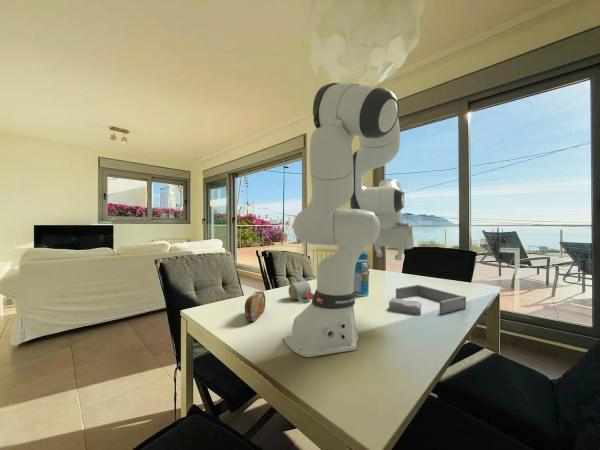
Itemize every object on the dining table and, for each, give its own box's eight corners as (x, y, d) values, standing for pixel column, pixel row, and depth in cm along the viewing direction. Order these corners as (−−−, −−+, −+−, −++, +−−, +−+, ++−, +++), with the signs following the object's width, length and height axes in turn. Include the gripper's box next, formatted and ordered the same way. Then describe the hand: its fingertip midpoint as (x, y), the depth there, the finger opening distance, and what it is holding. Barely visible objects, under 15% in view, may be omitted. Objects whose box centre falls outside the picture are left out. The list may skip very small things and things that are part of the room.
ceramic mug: (287, 297, 120) (287, 281, 120) (302, 295, 124) (302, 279, 124) (299, 304, 111) (300, 286, 111) (315, 301, 115) (315, 284, 115)
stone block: (391, 308, 113) (387, 310, 104) (392, 296, 114) (388, 298, 105) (421, 313, 107) (420, 316, 99) (422, 301, 108) (421, 303, 99)
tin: (251, 325, 89) (251, 300, 89) (242, 324, 90) (242, 299, 89) (266, 310, 104) (266, 288, 104) (258, 309, 104) (258, 288, 104)
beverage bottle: (349, 295, 124) (350, 253, 124) (352, 290, 132) (352, 251, 132) (368, 297, 121) (368, 254, 121) (369, 292, 129) (370, 251, 129)
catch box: (442, 314, 101) (442, 302, 100) (395, 298, 120) (395, 288, 120) (465, 307, 108) (465, 296, 108) (418, 293, 127) (418, 284, 127)
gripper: (418, 223, 94) (417, 261, 94) (376, 222, 112) (375, 254, 112) (405, 223, 91) (405, 263, 91) (364, 222, 109) (364, 255, 109)
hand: (388, 258), depth 102 cm, fingers open, 8 cm apart
